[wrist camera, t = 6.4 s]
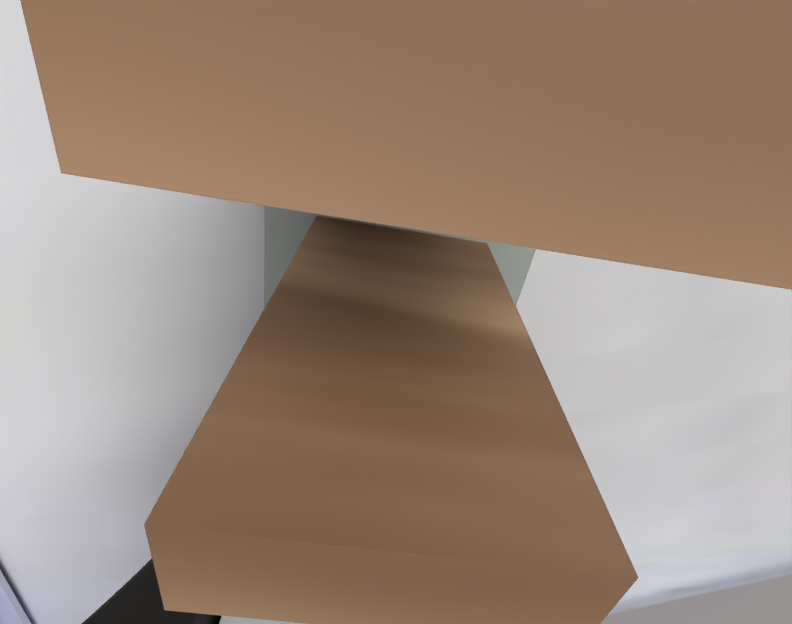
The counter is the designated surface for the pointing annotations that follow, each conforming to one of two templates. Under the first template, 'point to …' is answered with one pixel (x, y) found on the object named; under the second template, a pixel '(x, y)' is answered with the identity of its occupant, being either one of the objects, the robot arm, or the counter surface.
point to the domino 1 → (448, 116)
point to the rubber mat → (292, 225)
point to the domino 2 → (387, 455)
